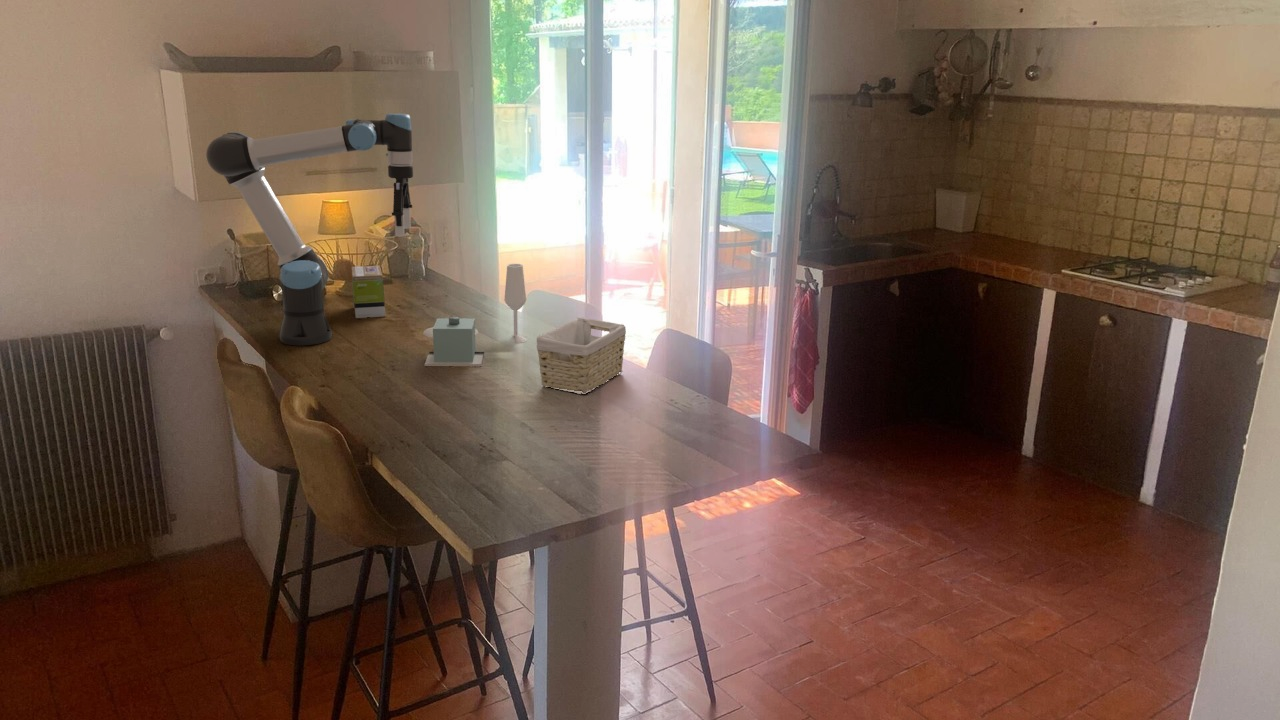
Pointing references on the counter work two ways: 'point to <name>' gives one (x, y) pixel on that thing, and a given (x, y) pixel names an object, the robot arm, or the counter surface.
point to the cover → (454, 339)
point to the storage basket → (580, 354)
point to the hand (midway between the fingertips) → (403, 232)
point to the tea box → (368, 291)
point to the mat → (476, 362)
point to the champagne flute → (515, 294)
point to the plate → (429, 332)
